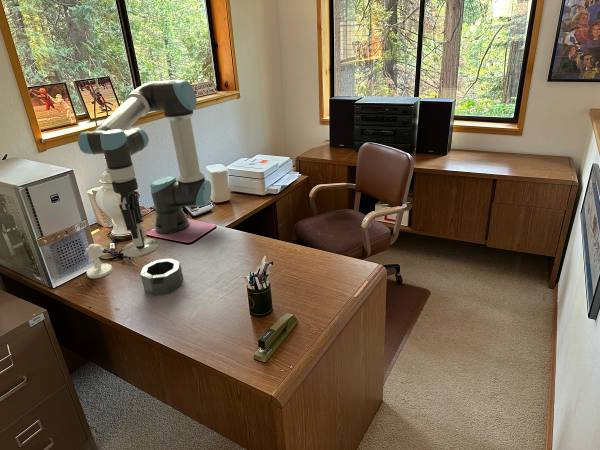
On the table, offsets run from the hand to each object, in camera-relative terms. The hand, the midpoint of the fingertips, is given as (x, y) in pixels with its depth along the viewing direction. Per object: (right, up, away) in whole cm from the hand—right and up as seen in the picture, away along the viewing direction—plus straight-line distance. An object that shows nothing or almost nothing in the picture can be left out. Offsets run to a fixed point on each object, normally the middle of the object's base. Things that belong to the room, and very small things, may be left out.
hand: (139, 243), depth 149 cm
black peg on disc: (0, -2, +1) cm, 2 cm away
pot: (+7, -15, +6) cm, 18 cm away
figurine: (-22, -12, +18) cm, 31 cm away
